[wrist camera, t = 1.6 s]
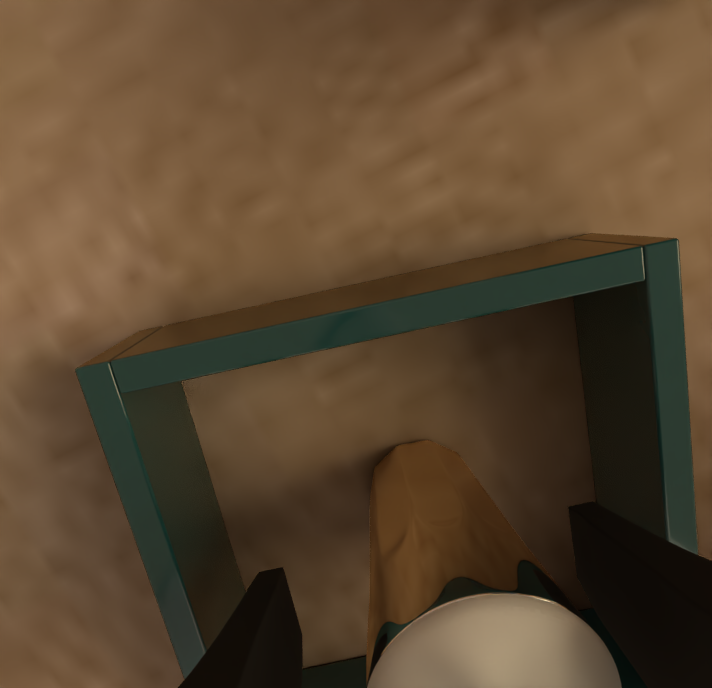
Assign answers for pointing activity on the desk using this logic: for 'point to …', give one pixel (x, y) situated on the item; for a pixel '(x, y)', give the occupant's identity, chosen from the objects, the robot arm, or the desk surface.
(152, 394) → the holder
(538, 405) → the desk surface
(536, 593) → the milkshake
